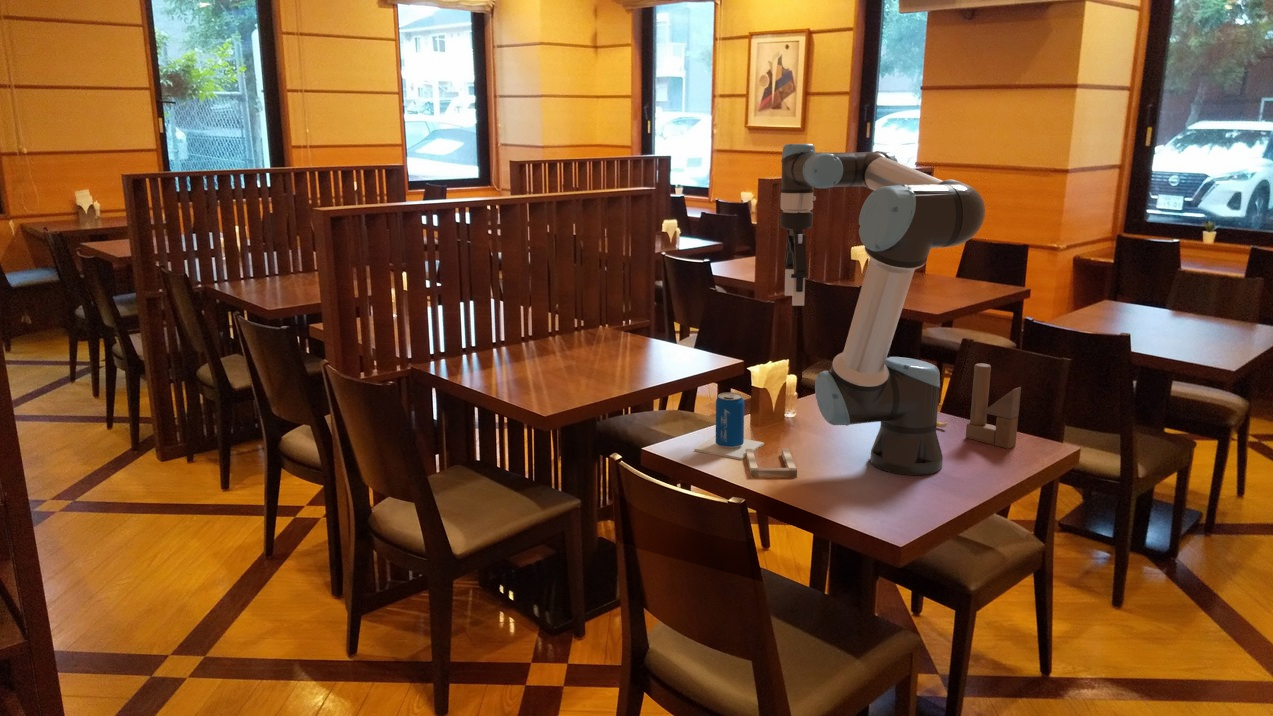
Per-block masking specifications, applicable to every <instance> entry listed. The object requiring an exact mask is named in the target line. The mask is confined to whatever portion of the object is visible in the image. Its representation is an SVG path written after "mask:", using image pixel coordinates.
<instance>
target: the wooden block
mask: <svg viewBox="0 0 1273 716" xmlns="http://www.w3.org/2000/svg"><path fill="white" fill-rule="evenodd" d="M991 371H992V366H991V364H989V363H988V364H987V363H982V362H981V363H976V364H974V370H973V380H972V382H973V383H972V393H971V406H970V407H971V408H970V418H969V420H970V421H969V422H968V423H966V430H965V438H966V439H969V440H973V441H978V442H980V443H981V442H982V443H985V444H988V445H994V446H996V447H1000V448H1003V449H1007V450H1008V449H1011V448H1013V447H1016V444H1017V434H1018V423H1019V414H1020V413H1019V412H1020V403H1021V390H1022V386H1019V387H1016V388H1013V389H1012V390H1011V391H1009V392H1008V393H1006V394H1005V395H1004V396H1002V397H1001V398H999V399H998V400H997V401H995V402H994V403H992V404H991V405H989V406H988V404H989V395H990V382H991ZM988 415H991V416H995V417H996V419H995V421H996V422H995V425H993V424H989V423H987V420H988V419H987V417H988Z"/></svg>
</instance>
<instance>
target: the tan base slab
mask: <svg viewBox="0 0 1273 716" xmlns="http://www.w3.org/2000/svg"><path fill="white" fill-rule="evenodd" d="M781 457H782V460H783V462H785V463H784V465H786V466H785V467H759V466H758V464H757V459H756V457H755V453H754V452H753V449H746V457H745V458H746V461H747V462H746V463H747V466H748V470H749V474H750V477H751V478H798V470H797V467H796V465H795V462H794V460H793V456H792V454H791V452H790V449H789V448H781Z"/></svg>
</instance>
